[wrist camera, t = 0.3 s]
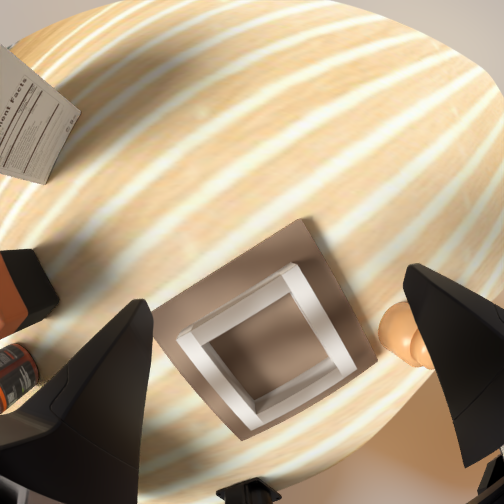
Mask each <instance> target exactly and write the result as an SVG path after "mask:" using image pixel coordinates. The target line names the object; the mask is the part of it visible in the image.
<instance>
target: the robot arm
mask: <svg viewBox="0 0 504 504" xmlns="http://www.w3.org/2000/svg"><path fill="white" fill-rule="evenodd" d="M403 289H404V292H405V295H406V298H407V300H408V303H409V306H410V308H411V311H412V314H413V317H414V320H415V323H416V325H417V327H418V330H419V332H420V334H421V337H422V339H423V341H424V343H425V346H426V348H427V351H428V353H429V355H430V358H431V360H432V363H433V365H434V368H435V370H436V373H437V376H438V378H439V381H440V384H441V387H442V389H443V392H444V395H445V398H446V401H447V404H448V407H449V410H450V413H451V417H452V420H453V424H454V427H455V431H456V435H457V439H458V442H459V446H460V450H461V455H462V459H463V464H464V467H465V468H467V467H469V466H471V465H472V464H474V463H476V462H478V461H480V460H481V459H483V458H484V457H486V456H488V455H489V454H491V453H493V452H494V451H495V450H497V449H500V452H501V454H500V455H498V456H497V457H496V458H494V459H493V460H492V461H490V462H489V463H488V464H487V467H486V470H485V472H484V475H483V478H482V480H481V482H480V485H479V487H478V490H477V492H478V496H477V497H475V498H474V499H472V500H471V501H469V502H468V503H466V504H504V309H503V308H501V307H499V306H498V305H496V304H493V303H492V302H491V301H489V300H487V299H485V298H484V297H482V296H480V295H478V294H476V293H475V292H473V291H471V290H469V289H467V288H466V287H464V286H462V285H460V284H458V283H456V282H454V281H452V280H451V279H449V278H447V277H445V276H443V275H441V274H439V273H437V272H435V271H433V270H431V269H429V268H427V267H425V266H423V265H421V264H419V263H415V264H410V265H408V267H407V270H406V274H405V278H404V282H403ZM153 327H154V319H153V315H152V313H151V311H150V309H149V307H148V304H147V302H146V301H145V300H144V299H134V300H132V301H131V302H130V303H129V304H127V305H126V306H125V307H124V308H123V309H122V310H121V311H120V312H119V313H118V314H117V315H116V316H115V317H114V318H113V319H111V320H110V321H109V322H108V323H107V324H106V325H105V326H104V327H103V328H102V329H101V330H100V331H99V332H98V333H97V334H96V335H95V336H94V337H93V338H92V339H91V340H90V341H89V342H88V343H87V344H86V345H85V346H84V347H82V348H81V349H80V350H79V351H78V352H77V353H76V354H75V355H74V356H73V357H72V358H71V359H70V360H69V361H68V364H65V365H64V367H63V368H62V369H61V370H60V371H59V372H58V373H57V374H56V375H55V376H54V377H53V378H52V379H51V380H49V381H48V382H47V383H46V384H45V385H44V386H43V387H42V388H41V389H40V390H38V391H37V392H36V393H35V394H34V395H33V396H32V397H31V398H30V399H28V400H27V401H26V402H25V403H24V404H23V405H22V406H21V407H20V408H18V409H17V410H15V411H14V412H11V413H9V414H4V415H0V504H137V496H138V473H139V470H138V469H139V456H140V444H141V434H142V424H143V416H144V407H145V400H146V392H147V386H148V379H149V372H150V366H151V357H152V341H153ZM216 495H217V496H218V497H220V498H221V499H223V500H224V501H225V504H273V502H274V501H277V500H280V499H281V498H282V496H281V495H280V494H279V493H277V492H276V491H275V490H273V489H272V488H271V487H269V486H268V485H267V484H265V483H264V482H263V481H262V480H260V479H259V478H254V479H251V480H249V481H246V482H243V483H240V484H237V485H234V486H231V487H228V488H225V489H221V490H218V491H216Z"/></svg>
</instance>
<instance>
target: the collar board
mask: <svg viewBox="0 0 504 504" xmlns="http://www.w3.org/2000/svg"><path fill="white" fill-rule="evenodd" d="M151 313H152V315H153V319H154V327H153V337H154V339H155V340H156V341H157V343H158V344H159V346H160V347H161V348H162V350H163V351H164V352H165V354H166V355H167V356H168V358H169V359H170V360H171V362H172V363H173V364H174V365H175V367H176V368H177V369H178V371H179V372H180V373H181V374H182V376H183V377H184V378H185V379H186V381H187V382H188V383H189V384H190V385H191V387H192V388H193V389H194V390H195V391H196V393H197V394H198V395H199V396H200V397H201V398H202V399H203V401H204V402H205V403H206V404H207V405H208V406H209V407H210V409H211V410H212V411H213V412H214V413H215V414H216V415H217V416H218V417H219V418H220V419H221V421H222V422H223V423H224V424H225V425H226V426H227V427H228V428H229V429H230V430H231V431H232V432H233V433H234V434H235V435H236V436H237V437H238V438H239V439H240V440H241V441H243V440H245V439H248V438H250V437H252V436H254V435H256V434H259V433H261V432H263V431H265V430H267V429H269V428H271V427H273V426H275V425H277V424H279V423H281V422H283V421H285V420H287V419H289V418H290V417H292V416H294V415H296V414H298V413H300V412H301V411H303V410H305V409H307V408H308V407H310V406H312V405H313V404H315V403H317V402H318V401H320V400H322V399H323V398H325V397H327V396H328V395H330V394H331V393H333V392H334V391H336V390H338V389H339V388H341V387H342V386H344V385H345V384H347V383H348V382H350V381H351V380H353V379H354V378H355V377H357V376H358V375H360V374H361V373H362V372H364V371H365V370H367V369H368V368H369V367H371V366H372V365H373V364H375V363H376V362H377V361H378V359H377V357H376V355H375V353H374V351H373V349H372V347H371V345H370V343H369V341H368V339H367V337H366V335H365V333H364V331H363V329H362V327H361V325H360V323H359V321H358V319H357V317H356V315H355V314H354V312H353V310H352V308H351V306H350V304H349V302H348V300H347V298H346V297H345V295H344V293H343V291H342V289H341V287H340V286H339V284H338V282H337V280H336V278H335V276H334V275H333V273H332V271H331V269H330V268H329V266H328V264H327V262H326V260H325V259H324V257H323V255H322V253H321V252H320V250H319V248H318V247H317V245H316V243H315V241H314V240H313V238H312V236H311V235H310V233H309V231H308V230H307V228H306V226H305V225H304V223H303V221H302V220H301V218H300V219H297V220H296V221H294V222H292V223H291V224H289V225H288V226H286V227H284V228H283V229H281V230H280V231H278V232H276V233H275V234H273V235H272V236H270V237H269V238H267V239H265V240H264V241H262V242H261V243H259V244H257V245H256V246H254V247H253V248H251V249H249V250H248V251H246V252H245V253H243V254H242V255H240V256H238V257H237V258H235V259H234V260H232V261H230V262H229V263H227V264H226V265H224V266H223V267H221V268H219V269H218V270H216V271H215V272H213V273H211V274H210V275H208V276H207V277H205V278H204V279H202V280H200V281H199V282H197V283H196V284H194V285H193V286H191V287H189V288H188V289H186V290H185V291H183V292H181V293H180V294H178V295H177V296H175V297H174V298H172V299H170V300H169V301H167V302H166V303H164V304H163V305H161V306H159V307H158V308H156V309H155V310H153V311H152V312H151Z"/></svg>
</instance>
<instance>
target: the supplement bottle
mask: <svg viewBox="0 0 504 504" xmlns="http://www.w3.org/2000/svg"><path fill="white" fill-rule="evenodd" d="M38 377H39V376H38V370H37V367H36V364H35V362H34V360H33V359H32V357H31V355H30V354H29V353H28V352H27V350H26V349H24V348H23V347H22V346H20V345H18V344H15V343H14V344H10V345H8V346H6V347H4V348H2V349H0V414H1V413H3V412H4V411H5V410H6V409H8V408H9V407H10V406H11V405H12V404H14V403H15V402H16V401H17V400H18V399H20V398H21V397H22V396H23V395H24V394H26V393H27V392H28V391H29V390H30V389H32V388H33V387H34V386H35V385H36V384H37V382H38Z"/></svg>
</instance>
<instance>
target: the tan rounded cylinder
mask: <svg viewBox="0 0 504 504" xmlns="http://www.w3.org/2000/svg"><path fill="white" fill-rule="evenodd" d="M378 336H379V340H380V342H381V344H382V345H383V346H384V347H385V348H387V349H388V350H389V351H391V352H392V353H394V354H395V355H396V356H398V357H399V358H401V359H402V360H403V361H405V362H406V363H408V364H409V365H411V366H412V367H422V366H424V367H426V368H427V369H431V370H432V369H435V368H434V365H433V363H432V360H431V358H430V355H429V353H428V351H427V348H426V346H425V343H424V341H423V339H422V337H421V334H420V332H419V330H418V327H417V325H416V323H415V320H414V317H413V314H412V311H411V308H410V306H409V303H406V302H400V303H397V304H395V305H393V306H392V307H390V308H389V309H388V310H387V311H386V312H385V314H384V315H383V317H382V319H381V321H380V324H379V329H378Z"/></svg>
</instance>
